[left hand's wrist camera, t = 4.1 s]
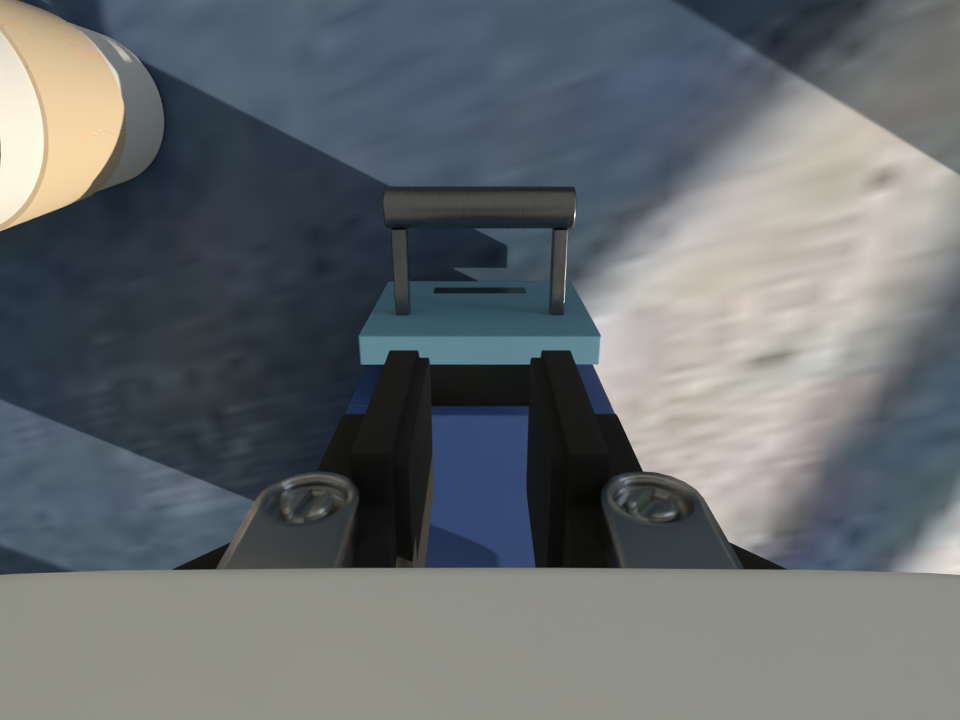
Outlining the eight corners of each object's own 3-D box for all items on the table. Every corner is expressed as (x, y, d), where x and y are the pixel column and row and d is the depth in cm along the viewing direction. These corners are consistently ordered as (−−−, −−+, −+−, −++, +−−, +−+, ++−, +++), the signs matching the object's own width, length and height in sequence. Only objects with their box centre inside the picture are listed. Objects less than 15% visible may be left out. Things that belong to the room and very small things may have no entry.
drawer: (382, 174, 30) (347, 195, 22) (577, 174, 30) (612, 195, 22) (401, 513, 37) (379, 621, 29) (558, 513, 37) (579, 621, 29)
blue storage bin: (382, 329, 34) (342, 414, 24) (577, 329, 34) (616, 414, 24) (396, 559, 39) (368, 703, 29) (563, 559, 39) (590, 703, 29)
